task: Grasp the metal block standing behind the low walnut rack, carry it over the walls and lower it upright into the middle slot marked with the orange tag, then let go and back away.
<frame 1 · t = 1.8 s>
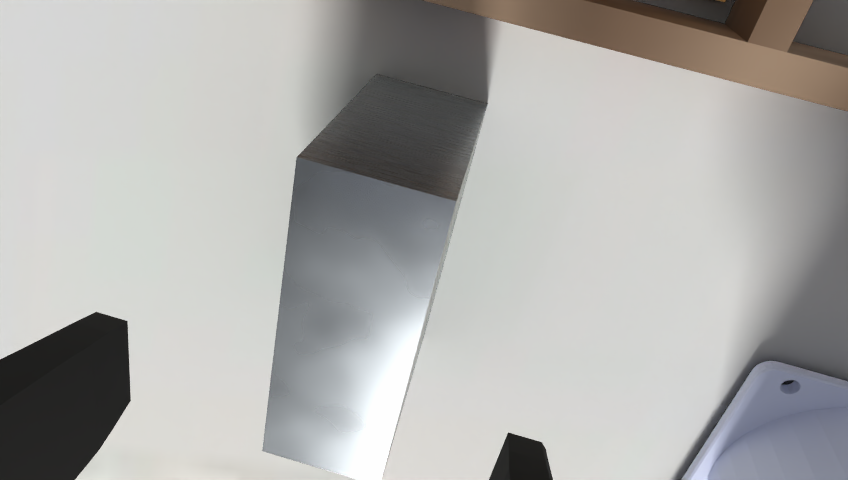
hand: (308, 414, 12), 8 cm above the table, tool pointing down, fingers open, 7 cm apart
metal block: (403, 218, 19), on the table
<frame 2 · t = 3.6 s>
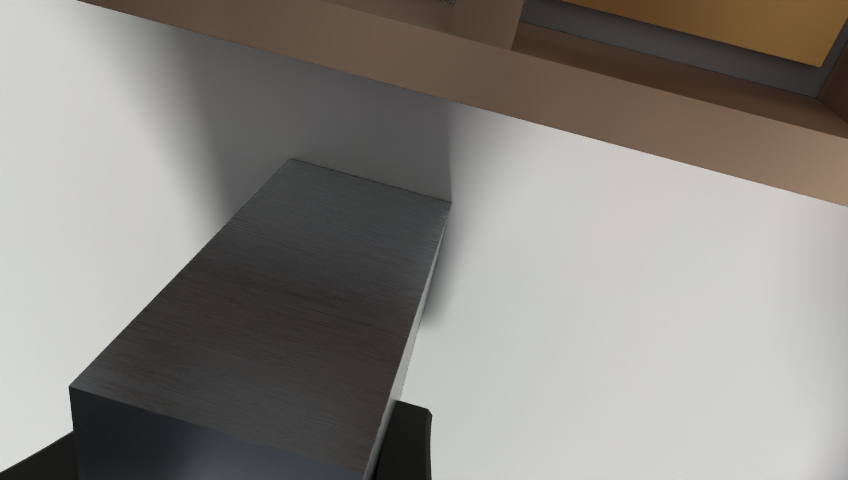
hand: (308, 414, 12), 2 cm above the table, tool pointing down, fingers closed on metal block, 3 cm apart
metal block: (338, 348, 13), on the table, touching gripper
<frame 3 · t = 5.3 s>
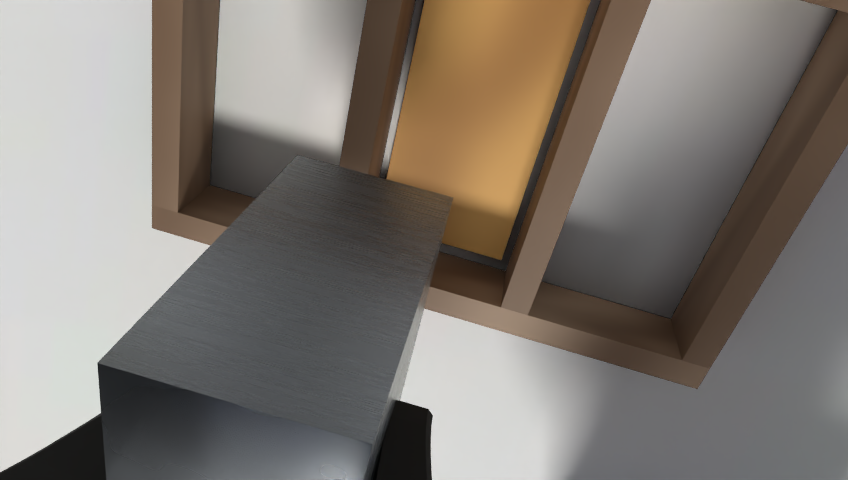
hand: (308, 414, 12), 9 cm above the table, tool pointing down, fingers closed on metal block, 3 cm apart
slot rack: (475, 109, 18), on the table
metal block: (344, 339, 14), point 7 cm above the table, touching gripper
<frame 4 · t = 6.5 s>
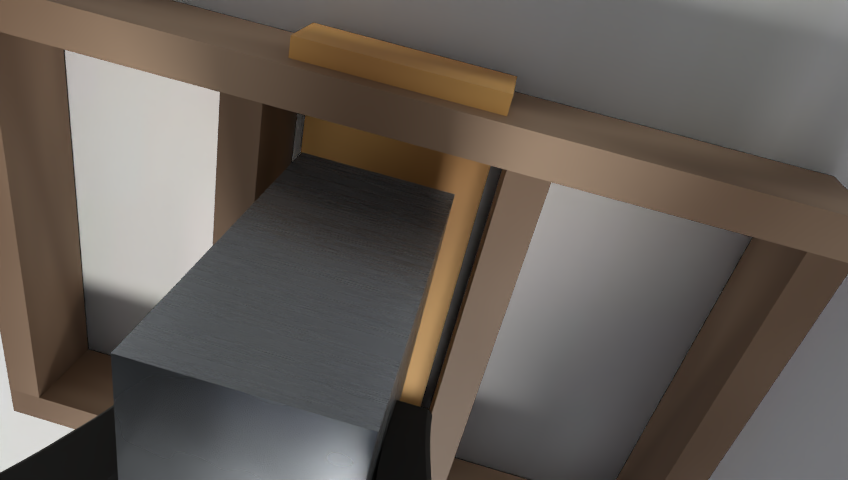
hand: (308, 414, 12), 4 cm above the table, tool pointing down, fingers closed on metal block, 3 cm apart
slot rack: (368, 288, 15), on the table
metal block: (346, 334, 14), point 2 cm above the table, touching gripper
when the fingers open (4 cm above the table, at t = 7.4 s): metal block stays where it is, resting on slot rack.
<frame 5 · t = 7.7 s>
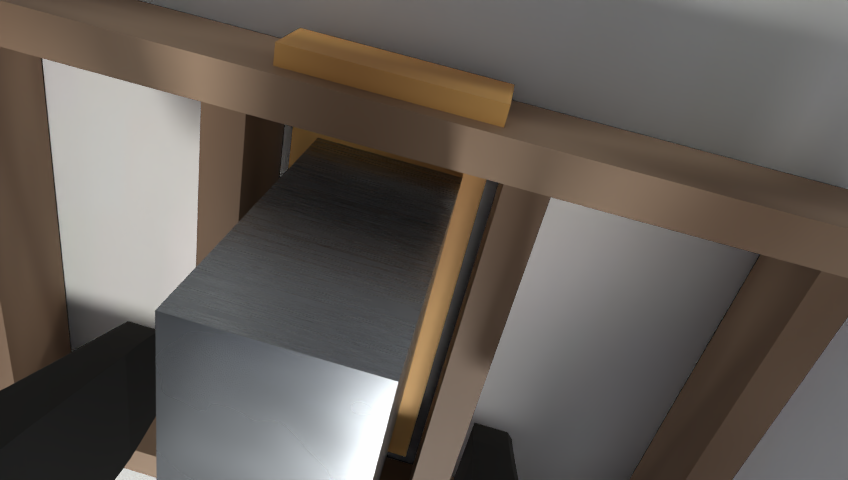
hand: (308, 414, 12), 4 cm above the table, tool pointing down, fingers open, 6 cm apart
slot rack: (360, 303, 15), on the table
metal block: (358, 313, 15), resting on slot rack
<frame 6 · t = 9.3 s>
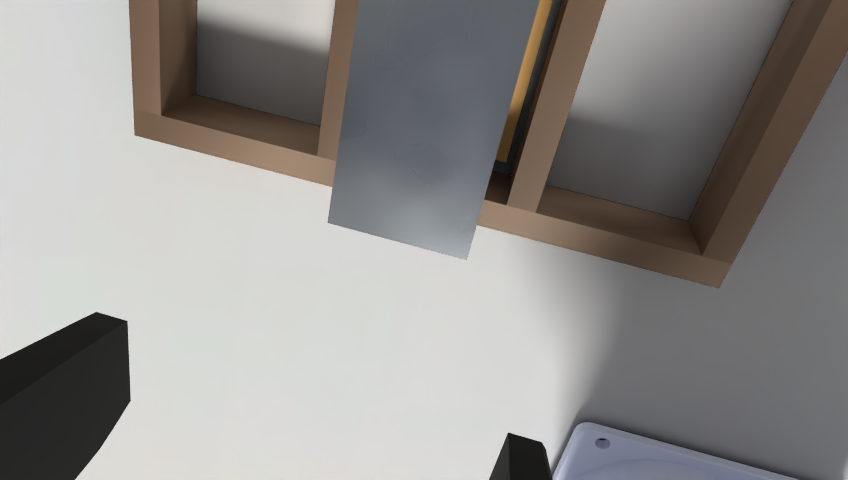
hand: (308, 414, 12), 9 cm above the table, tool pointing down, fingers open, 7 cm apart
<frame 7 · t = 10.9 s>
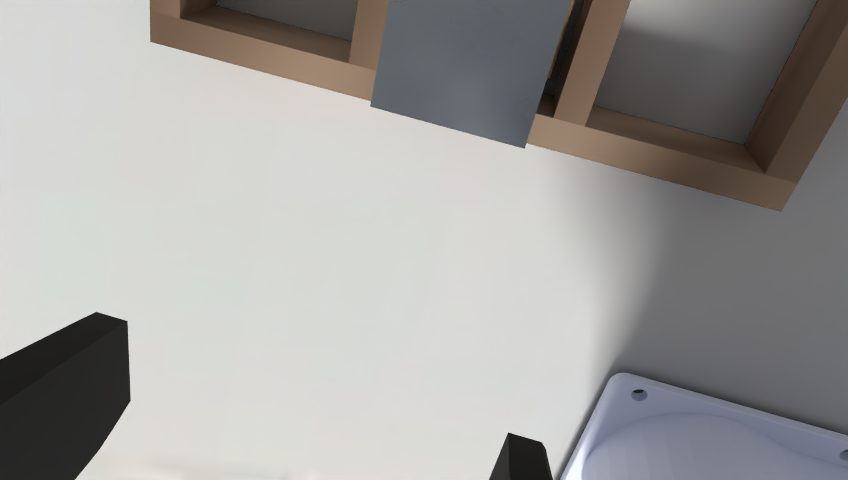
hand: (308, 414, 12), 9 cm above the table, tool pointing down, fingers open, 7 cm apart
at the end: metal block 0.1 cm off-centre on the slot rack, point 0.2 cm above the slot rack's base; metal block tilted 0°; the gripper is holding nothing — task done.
